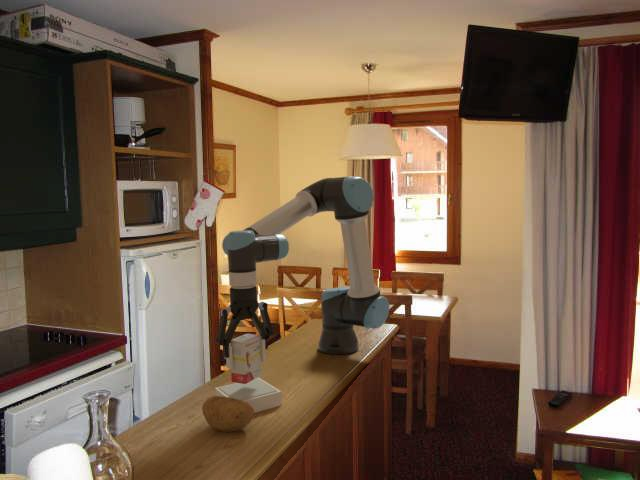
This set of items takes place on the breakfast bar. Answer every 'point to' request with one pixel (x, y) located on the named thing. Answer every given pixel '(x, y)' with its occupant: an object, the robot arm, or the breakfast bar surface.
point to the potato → (227, 413)
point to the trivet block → (253, 394)
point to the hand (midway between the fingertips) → (246, 364)
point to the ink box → (246, 358)
